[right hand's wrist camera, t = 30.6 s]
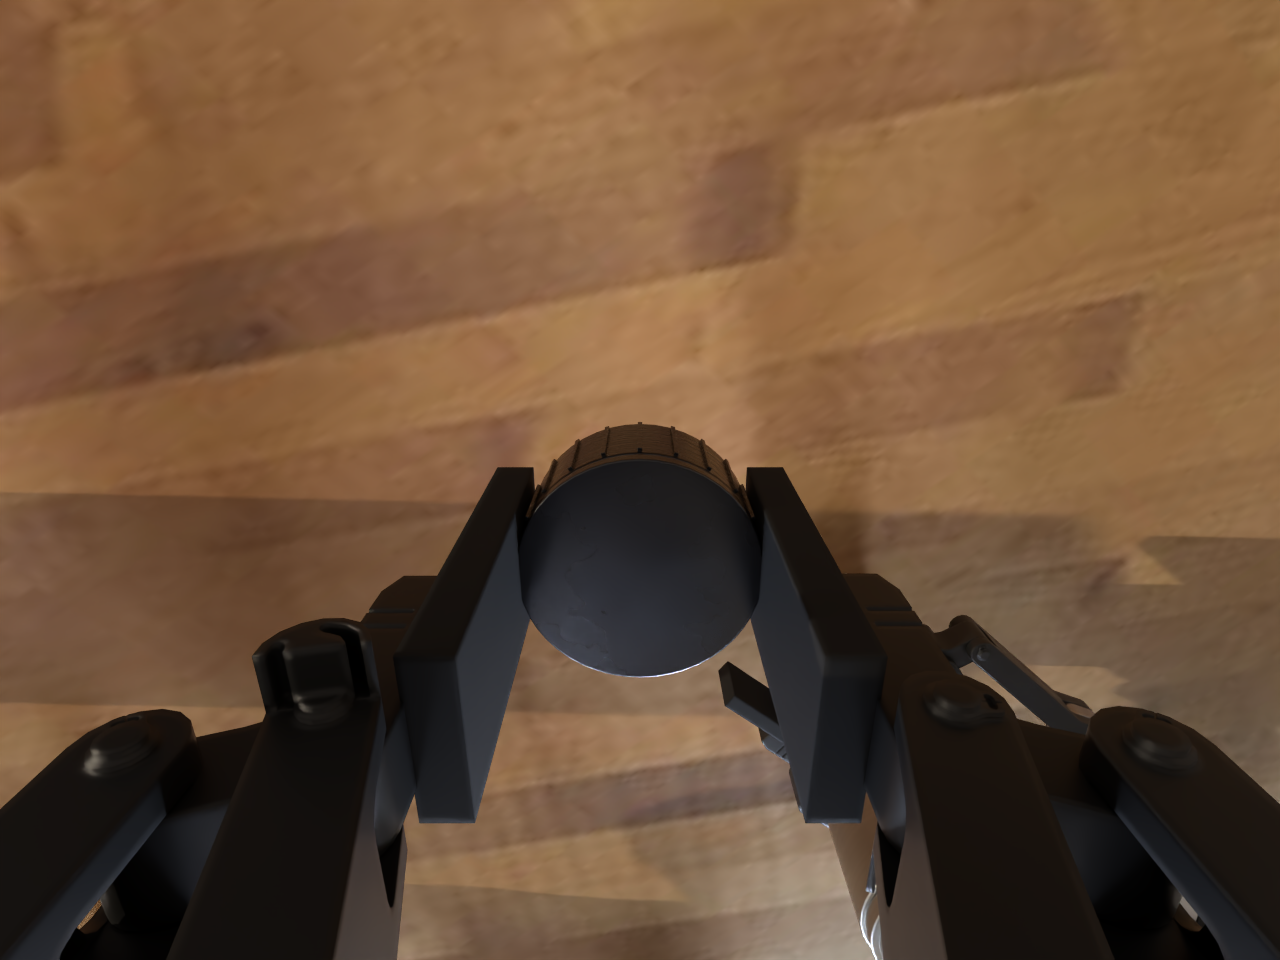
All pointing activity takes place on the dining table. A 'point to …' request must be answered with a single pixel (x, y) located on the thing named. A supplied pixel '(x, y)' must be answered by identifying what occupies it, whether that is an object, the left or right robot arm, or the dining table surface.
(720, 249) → the dining table surface
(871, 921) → the bottle
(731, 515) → the cap
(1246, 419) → the dining table surface
